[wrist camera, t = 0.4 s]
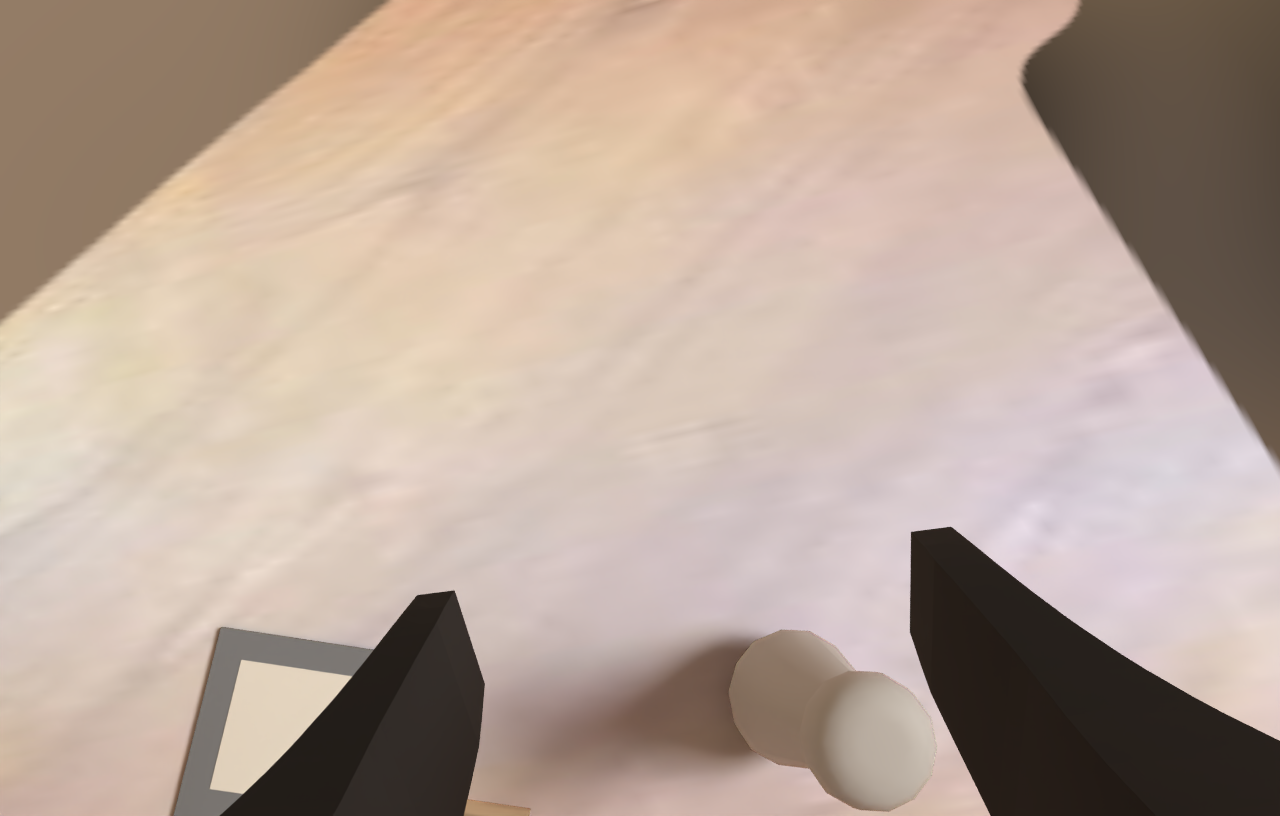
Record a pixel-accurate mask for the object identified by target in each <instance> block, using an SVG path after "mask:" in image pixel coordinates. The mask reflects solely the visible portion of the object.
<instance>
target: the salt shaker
mask: <svg viewBox="0 0 1280 816" xmlns="http://www.w3.org/2000/svg"><path fill="white" fill-rule="evenodd" d="M728 693H729V698H730V703H731V708H732V714H733V719H734V724H735V725H736V727H737V728H738V730H739V732H740V733H741V735H742V736H743V738H744V739H745V741H746V742H747V744H748V745H749V747H750V748H751V750H752V751H754V752H756V753H758V754H760V755H762V756H763V757H765V758H767V759H769V760H771V761H772V762H774V763H776V764H778V765H785V766H793V767H801V768H808V769H810V770H811V771H812V773H813V774H814V776H815V777H816V779H817V780H818V782H819V783H820V784H821V786H822V787H823V789H824V790H825V791H826V792H827V793H828V794H830V795H831V796H833V797H835V798H837V799H838V800H840V801H842V802H844V803H846V804H847V805H849V806H851V807H853V808H856V809H859V810H870V811H887V812H889V811H891V810H893V809H895V808H897V807H899V806H901V805H903V804H905V803H907V802H909V801H911V800H913V799H915V797H916V796H917V795H918V793H919V792H920V791H921V789H922V788H923V787H924V785H925V784H926V783H927V781H928V780H929V779H930V778H931V776H932V771H933V766H934V761H935V755H936V750H937V744H936V739H935V735H934V730H933V725H932V720H931V717H930V715H929V714H928V713H927V711H926V710H925V709H924V707H923V706H922V705H921V703H920V702H919V701H918V699H917V698H916V696H915V695H914V694H913V693H912V692H911V691H910V690H909V689H908V688H907V687H905V686H903V685H901V684H900V683H898V682H896V681H895V680H893V679H891V678H890V677H888V676H886V675H884V674H883V673H878V672H864V671H856V670H855V669H854V668H853V667H852V665H851V664H850V663H849V662H848V661H847V659H846V658H845V657H844V656H843V655H842V653H841V652H840V651H839V650H838V648H837V647H836V646H835V645H833V644H831V643H830V642H828V641H826V640H824V639H823V638H821V637H819V636H817V635H816V634H814V633H812V632H810V631H797V630H779V631H777V632H775V633H772V634H770V635H768V636H765V637H763V638H761V639H758V640H756V641H754V642H753V643H752V644H751V645H750V647H749V648H748V649H747V650H746V652H745V653H744V654H743V655H742V657H741V658H740V659H739V660H738V662H737V663H736V666H735V670H734V673H733V677H732V680H731V684H730V688H729V691H728Z"/></svg>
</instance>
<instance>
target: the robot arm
mask: <svg viewBox="0 0 1280 816" xmlns="http://www.w3.org/2000/svg"><path fill="white" fill-rule="evenodd" d="M910 633H911V636H912V639H913V642H914V645H915V648H916V651H917V654H918V657H919V660H920V663H921V666H922V669H923V672H924V675H925V678H926V680H927V683H928V686H929V689H930V692H931V694H932V696H933V698H934V700H935V702H936V705H937V707H938V709H939V711H940V713H941V715H942V717H943V719H944V721H945V723H946V725H947V727H948V729H949V732H950V734H951V736H952V738H953V740H954V742H955V744H956V746H957V748H958V750H959V752H960V754H961V756H962V758H963V760H964V762H965V764H966V766H967V768H968V770H969V772H970V774H971V777H972V779H973V781H974V783H975V785H976V787H977V789H978V791H979V793H980V795H981V797H982V799H983V801H984V803H985V805H986V807H987V809H988V811H989V813H990V815H991V816H1280V741H1279V740H1277V739H1275V738H1273V737H1271V736H1269V735H1267V734H1265V733H1263V732H1261V731H1259V730H1257V729H1255V728H1253V727H1251V726H1249V725H1247V724H1245V723H1242V722H1240V721H1238V720H1236V719H1234V718H1232V717H1230V716H1228V715H1226V714H1224V713H1222V712H1221V711H1219V710H1217V709H1215V708H1213V707H1211V706H1209V705H1207V704H1206V703H1204V702H1202V701H1200V700H1198V699H1196V698H1194V697H1193V696H1191V695H1189V694H1187V693H1186V692H1184V691H1182V690H1180V689H1179V688H1177V687H1175V686H1173V685H1172V684H1170V683H1168V682H1167V681H1165V680H1163V679H1161V678H1160V677H1158V676H1156V675H1154V674H1153V673H1151V672H1149V671H1147V670H1146V669H1144V668H1142V667H1141V666H1139V665H1138V664H1136V663H1134V662H1133V661H1131V660H1130V659H1128V658H1126V657H1125V656H1123V655H1122V654H1120V653H1118V652H1117V651H1115V650H1114V649H1112V648H1111V647H1109V646H1108V645H1107V644H1105V643H1104V642H1102V641H1101V640H1099V639H1098V638H1096V637H1095V636H1093V635H1092V634H1090V633H1089V632H1087V631H1086V630H1084V629H1083V628H1081V627H1080V626H1078V625H1077V624H1075V623H1074V622H1073V621H1071V620H1070V619H1068V618H1067V617H1066V616H1064V615H1063V614H1062V613H1060V612H1059V611H1058V610H1056V609H1055V608H1054V607H1052V606H1051V605H1050V604H1048V603H1047V602H1045V601H1044V600H1043V599H1041V598H1040V597H1039V596H1037V595H1036V594H1035V593H1033V592H1032V591H1031V590H1030V589H1028V588H1027V587H1026V586H1024V585H1023V584H1022V583H1021V582H1019V581H1018V580H1017V579H1015V578H1014V577H1013V576H1012V575H1010V574H1009V573H1008V572H1007V571H1005V570H1004V569H1003V568H1002V567H1000V566H999V565H998V564H997V563H995V562H994V561H993V560H992V559H991V558H989V557H988V556H987V555H986V554H984V553H983V552H982V551H981V550H979V549H978V548H977V547H976V546H975V545H973V544H972V543H971V542H970V541H968V540H967V539H966V538H965V537H963V536H962V535H961V534H960V533H958V532H957V531H956V530H954V529H953V528H952V527H946V528H938V529H931V530H923V531H915V532H911V590H910ZM484 686H485V683H484V680H483V677H482V674H481V671H480V668H479V665H478V662H477V659H476V655H475V652H474V649H473V646H472V643H471V640H470V637H469V634H468V631H467V628H466V624H465V621H464V618H463V615H462V612H461V609H460V606H459V603H458V600H457V597H456V593H455V591H447V592H439V593H431V594H423V595H417V596H416V597H415V599H414V600H413V601H412V602H411V604H410V605H409V606H408V607H407V609H406V610H405V611H404V612H403V614H402V615H401V616H400V617H399V619H398V620H397V621H396V622H395V624H394V625H393V626H392V627H391V629H390V630H389V631H388V632H387V634H386V635H385V636H384V637H383V639H382V640H381V641H380V643H379V644H378V645H377V646H376V648H375V649H374V650H373V651H372V653H371V654H370V655H369V656H368V658H367V659H366V660H365V661H364V663H363V664H362V665H361V666H360V668H359V669H358V670H357V671H356V672H355V674H354V675H353V676H352V677H351V679H350V680H349V681H348V682H347V683H346V685H345V686H344V687H343V688H342V689H341V691H340V692H339V693H338V694H337V696H336V697H335V698H334V699H333V700H332V701H331V702H330V704H329V705H328V706H327V707H326V708H325V709H324V710H323V711H322V712H321V714H320V715H319V716H318V717H317V718H316V719H315V720H314V721H313V723H312V724H311V725H310V726H309V727H308V728H307V729H306V730H305V732H304V733H303V734H302V735H301V736H300V737H299V738H298V739H297V740H296V742H295V743H294V744H293V745H292V746H291V747H290V748H289V749H288V750H287V751H286V752H285V753H284V754H283V755H282V756H281V757H280V758H279V759H278V760H277V761H276V762H275V763H274V764H273V765H272V766H271V767H270V769H269V770H268V771H267V772H266V773H265V774H263V775H262V776H261V777H260V778H259V779H258V780H257V781H256V782H255V783H254V784H253V785H252V786H251V787H250V788H249V789H248V790H247V791H246V792H245V793H244V794H243V795H241V796H240V797H239V798H238V799H237V800H236V801H235V802H234V803H233V804H232V805H231V806H230V807H229V808H227V809H226V810H225V811H224V812H223V813H222V814H221V815H220V816H464V812H465V808H466V803H467V799H468V795H469V790H470V785H471V781H472V776H473V772H474V767H475V762H476V757H477V753H478V748H479V741H480V731H481V722H482V711H483V698H484Z"/></svg>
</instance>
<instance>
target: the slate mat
mask: <svg viewBox="0 0 1280 816" xmlns="http://www.w3.org/2000/svg"><path fill="white" fill-rule="evenodd" d="M372 651H373V650H372V649H365V648H358V647H352V646H345V645H338V644H332V643H325V642H319V641H312V640H305V639H299V638H292V637H285V636H279V635H272V634H266V633H259V632H252V631H246V630H239V629H233V628H226V627H221V629H220V633H219V637H218V641H217V645H216V649H215V653H214V657H213V661H212V665H211V669H210V673H209V677H208V681H207V685H206V689H205V693H204V697H203V701H202V705H201V709H200V713H199V717H198V721H197V725H196V729H195V732H194V736H193V740H192V744H191V748H190V752H189V756H188V760H187V764H186V768H185V772H184V776H183V780H182V784H181V788H180V792H179V796H178V800H177V804H176V808H175V812H174V816H220V815H221V814H222V813H223V812H224V811H225V810H226V809H227V808H229V807H230V806H231V805H232V804H233V803H234V802H235V801H236V800H237V799H238V798H239V797H240V796H241V795H243V794H244V793H245V792H246V791H247V790H248V789H249V788H250V787H251V786H252V785H253V784H254V783H255V782H256V781H257V780H258V779H259V778H260V777H261V776H262V775H263V774H265V773H266V772H267V771H268V770H269V769H270V767H271V766H272V765H273V764H274V763H275V762H276V761H277V760H278V759H279V758H280V757H281V756H282V755H283V754H284V753H285V752H286V751H287V750H288V749H289V748H290V747H291V746H292V745H293V744H294V743H295V742H296V740H297V739H298V738H299V737H300V736H301V735H302V734H303V733H304V732H305V730H306V729H307V728H308V727H309V726H310V725H311V724H312V723H313V721H314V720H315V719H316V718H317V717H318V716H319V715H320V714H321V712H322V711H323V710H324V709H325V708H326V707H327V706H328V705H329V704H330V702H331V701H332V700H333V699H334V698H335V697H336V696H337V694H338V693H339V692H340V691H341V689H342V688H343V687H344V686H345V685H346V683H347V682H348V681H349V680H350V679H351V677H352V676H353V675H354V674H355V672H356V671H357V670H358V669H359V668H360V666H361V665H362V664H363V663H364V661H365V660H366V659H367V658H368V656H369V655H370V654H371V653H372Z"/></svg>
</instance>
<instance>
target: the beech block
mask: <svg viewBox="0 0 1280 816" xmlns="http://www.w3.org/2000/svg"><path fill="white" fill-rule="evenodd" d="M529 814H530V808H523V807H516V806H509V805H503V804H496V803H489V802H482V801H475V800H468V799H467V803H466V808H465V812H464V816H529Z"/></svg>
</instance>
